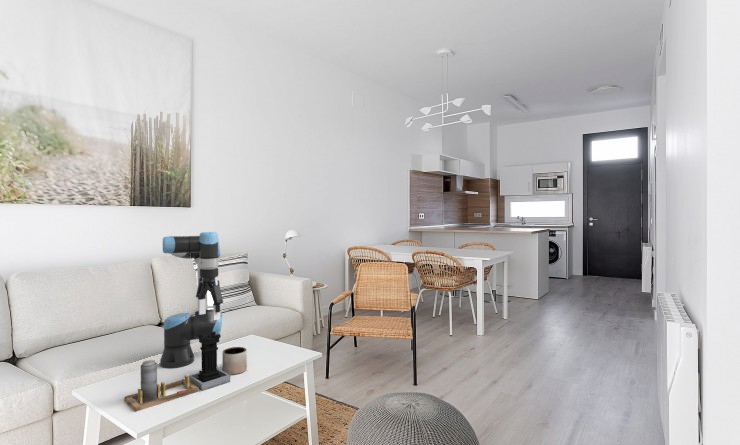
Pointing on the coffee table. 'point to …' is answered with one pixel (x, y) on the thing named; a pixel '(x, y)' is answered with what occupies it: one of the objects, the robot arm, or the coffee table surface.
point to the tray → (209, 384)
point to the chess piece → (209, 357)
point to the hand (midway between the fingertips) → (209, 316)
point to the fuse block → (156, 388)
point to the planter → (234, 360)
